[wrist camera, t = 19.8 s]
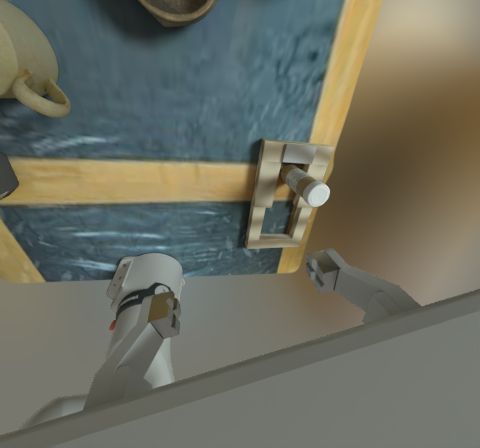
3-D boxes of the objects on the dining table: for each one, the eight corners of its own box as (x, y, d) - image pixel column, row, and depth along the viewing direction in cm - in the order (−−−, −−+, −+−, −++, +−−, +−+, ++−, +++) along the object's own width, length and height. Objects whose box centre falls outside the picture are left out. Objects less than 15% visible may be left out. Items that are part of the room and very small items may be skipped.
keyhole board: (295, 241, 59) (299, 247, 56) (244, 243, 55) (247, 250, 52) (327, 144, 44) (335, 147, 41) (261, 138, 40) (266, 141, 38)
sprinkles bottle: (296, 181, 47) (327, 206, 36) (278, 183, 47) (305, 209, 36) (298, 162, 45) (333, 183, 34) (280, 164, 44) (309, 186, 33)
